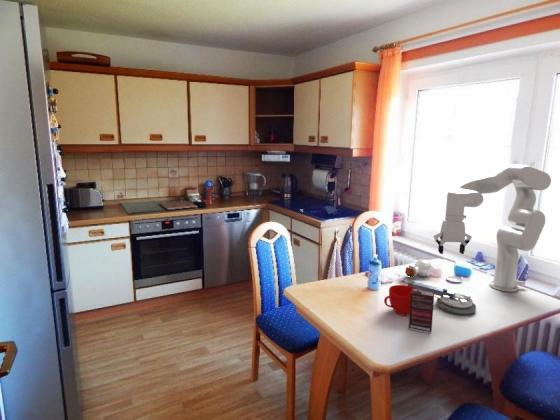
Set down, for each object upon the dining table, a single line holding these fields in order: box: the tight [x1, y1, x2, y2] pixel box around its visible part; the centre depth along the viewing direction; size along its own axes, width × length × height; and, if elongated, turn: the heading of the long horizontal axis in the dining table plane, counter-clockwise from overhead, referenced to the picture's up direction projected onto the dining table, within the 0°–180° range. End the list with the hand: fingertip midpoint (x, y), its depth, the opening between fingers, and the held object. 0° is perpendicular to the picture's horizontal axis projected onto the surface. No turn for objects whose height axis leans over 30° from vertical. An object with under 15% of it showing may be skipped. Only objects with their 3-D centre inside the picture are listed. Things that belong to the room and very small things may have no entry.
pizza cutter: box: [407, 280, 474, 309], centre depth 171 cm, size 13×28×5 cm, turn 51°
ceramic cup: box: [383, 284, 416, 316], centre depth 161 cm, size 13×17×10 cm
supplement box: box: [408, 289, 435, 334], centre depth 147 cm, size 9×5×16 cm, turn 65°
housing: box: [434, 295, 477, 317], centre depth 167 cm, size 16×16×2 cm
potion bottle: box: [404, 258, 433, 278], centre depth 204 cm, size 9×10×15 cm
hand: (451, 253), depth 175 cm, fingers open, 9 cm apart
